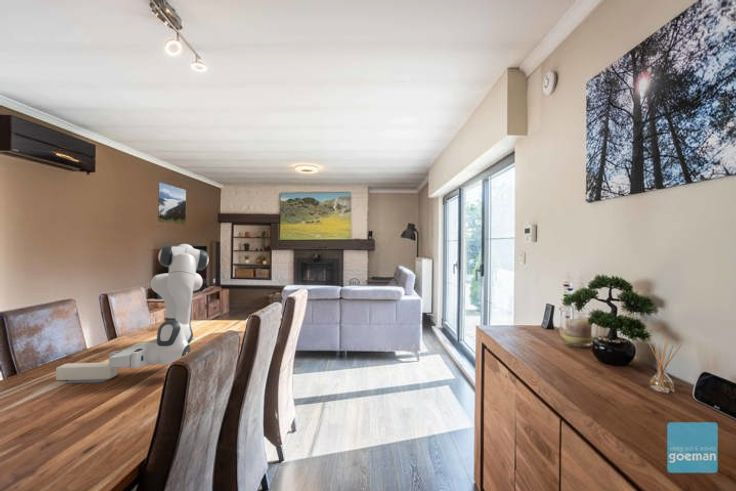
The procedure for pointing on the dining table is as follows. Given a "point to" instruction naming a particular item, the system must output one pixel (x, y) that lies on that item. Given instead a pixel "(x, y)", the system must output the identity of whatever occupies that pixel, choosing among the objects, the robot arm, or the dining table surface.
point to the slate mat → (88, 381)
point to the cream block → (85, 371)
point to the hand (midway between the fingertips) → (111, 354)
